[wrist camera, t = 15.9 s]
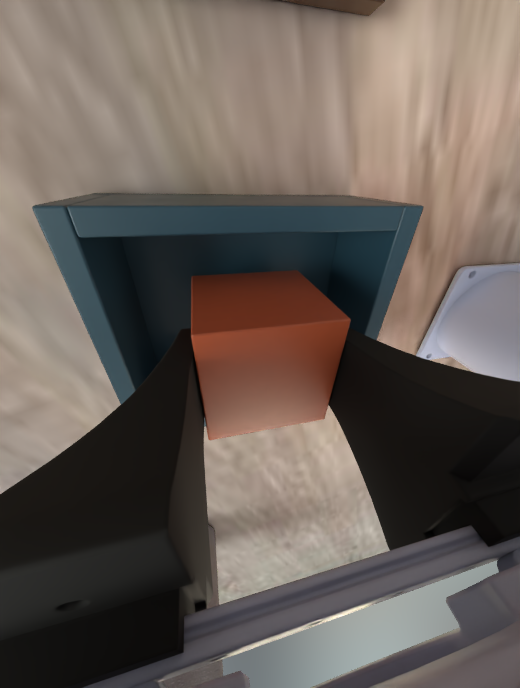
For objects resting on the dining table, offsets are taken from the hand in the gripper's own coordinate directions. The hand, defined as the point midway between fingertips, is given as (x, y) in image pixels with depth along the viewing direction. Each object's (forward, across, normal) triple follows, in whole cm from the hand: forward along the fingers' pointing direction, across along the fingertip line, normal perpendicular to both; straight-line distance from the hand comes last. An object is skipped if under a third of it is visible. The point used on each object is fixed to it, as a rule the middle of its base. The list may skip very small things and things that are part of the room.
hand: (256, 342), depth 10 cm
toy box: (+5, 0, 0) cm, 5 cm away
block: (+2, 0, 0) cm, 2 cm away
